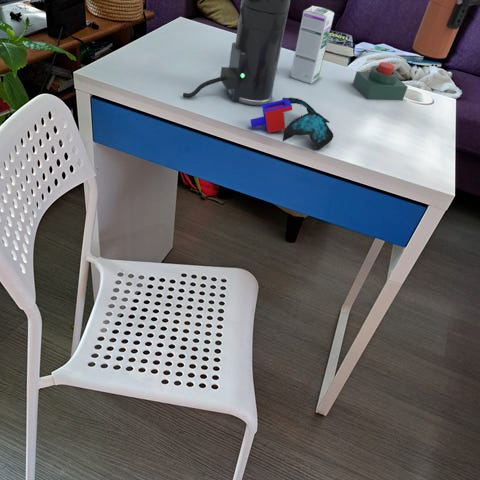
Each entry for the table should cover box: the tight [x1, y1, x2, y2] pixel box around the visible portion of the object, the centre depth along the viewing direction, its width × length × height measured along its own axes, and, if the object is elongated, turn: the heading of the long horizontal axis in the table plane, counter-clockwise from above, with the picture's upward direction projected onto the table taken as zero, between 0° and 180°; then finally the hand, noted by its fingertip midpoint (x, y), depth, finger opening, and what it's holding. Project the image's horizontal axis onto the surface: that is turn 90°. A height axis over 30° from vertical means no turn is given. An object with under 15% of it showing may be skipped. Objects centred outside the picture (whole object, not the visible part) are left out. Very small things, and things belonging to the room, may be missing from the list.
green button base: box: [352, 65, 408, 101], centre depth 120 cm, size 10×8×5 cm
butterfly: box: [281, 97, 334, 151], centre depth 98 cm, size 17×5×10 cm
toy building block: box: [250, 98, 293, 134], centre depth 97 cm, size 4×4×8 cm
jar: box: [412, 0, 460, 59], centre depth 92 cm, size 7×7×10 cm
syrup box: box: [289, 5, 335, 84], centre depth 116 cm, size 6×6×14 cm
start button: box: [377, 61, 395, 75], centre depth 118 cm, size 4×4×2 cm
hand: (441, 21), depth 91 cm, fingers closed on jar, 6 cm apart
